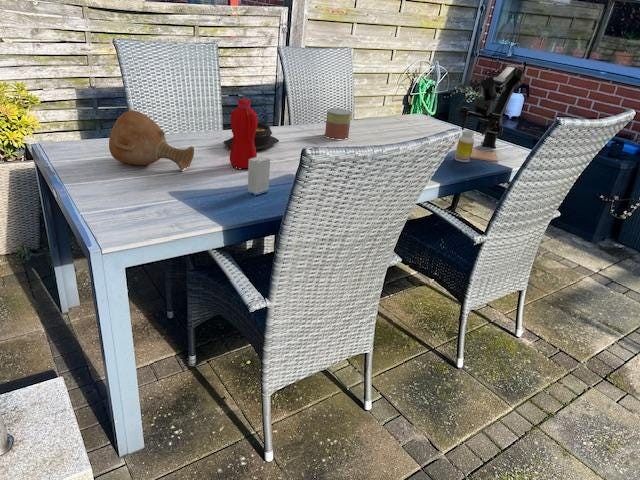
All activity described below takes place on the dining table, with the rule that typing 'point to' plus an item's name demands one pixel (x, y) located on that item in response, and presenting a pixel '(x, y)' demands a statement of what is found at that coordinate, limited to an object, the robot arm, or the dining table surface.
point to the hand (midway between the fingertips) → (472, 132)
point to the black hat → (259, 137)
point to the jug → (144, 142)
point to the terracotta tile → (484, 155)
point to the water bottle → (243, 134)
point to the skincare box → (258, 174)
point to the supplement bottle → (464, 146)
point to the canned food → (337, 123)
